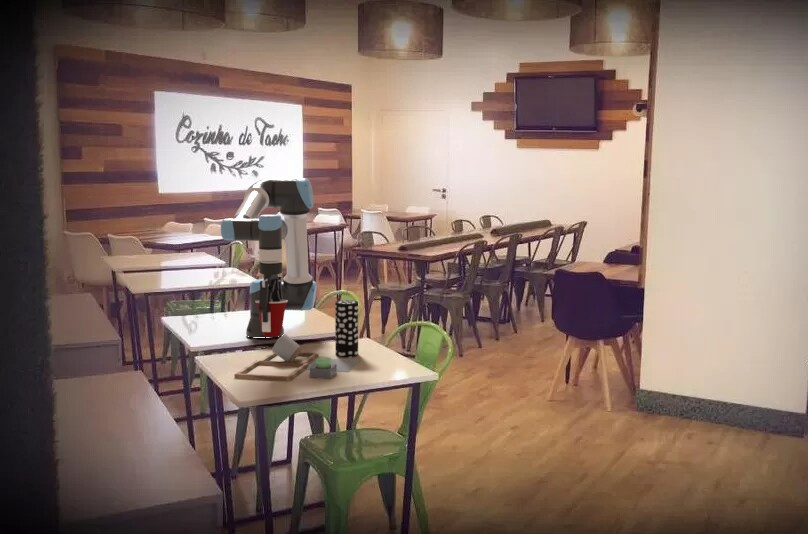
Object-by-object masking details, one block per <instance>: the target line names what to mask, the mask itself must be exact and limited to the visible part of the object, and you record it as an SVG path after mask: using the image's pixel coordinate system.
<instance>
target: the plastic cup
mask: <svg viewBox="0 0 808 534" xmlns="http://www.w3.org/2000/svg"><path fill="white" fill-rule="evenodd" d="M255 302H256V304H257V307H258V311H259V300H256V301H255ZM287 302H288V300H281V299H280V302H273V301H272V299H271V302H269V303H270V309H269V312H270V319H271V332H263V335H264V336H268V337H274V336H279V335H281V330H282V325H283V324H284V317H285V312H286V310H285V307H286V304H287ZM259 317H260V322H261V326H262V312H259Z"/></svg>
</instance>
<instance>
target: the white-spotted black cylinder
mask: <svg viewBox="0 0 808 534" xmlns="http://www.w3.org/2000/svg"><path fill="white" fill-rule="evenodd" d="M334 308H335V309H334V310H335V311H334V312H335V314H334V315H335V316H334V317H335V319H334V320H335V321H334V322H335V324H334V325H335V327H334V328H335V336H334V337H335V341H334V342H335V344H334V345H335V356H336V357H337V358H341V359H342V358H343V359H346V358H347V359H349V358H356V357H358V356H359V301H356V300H352V299H350V300H349V299H345V300H343V299H342V300H337V301H335V303H334Z"/></svg>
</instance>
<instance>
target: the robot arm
mask: <svg viewBox="0 0 808 534" xmlns="http://www.w3.org/2000/svg"><path fill="white" fill-rule="evenodd" d="M243 195H244V196H243V201H242V203H241V204H240V206H239V207H238V209H237V211H236V213H235V214H234V216H233V217H231V218H230V217H229V218H224V219H222V220H221V223H220V235H221V236H220V237H221V238H222V240H224V241H232V242H234V241H235V242H236V241H237V242H245V241H246V242H247V241H248V242H258V251H257V254H258V260H259V261H260V262H259V264H258V268H259V269H258V271H259V274H261V275H263V278H259V279H255V280H253V281H251V282H250V285H249V308H250V310H249V312H250V313H249V314H250V316H249V320H248V324H247V327H246V330H245V331H246V333H245V334H246V335H247V336H249V337H265V338H266V337H268V336H264V335H263V332H271V319H270V312H269V309H270V303H269V302H271V299H272V301H273V302H280V299H281V300H288V302H287V304H286V307H285V311H300V312H303V311H311V310H313V308H314V305H315V301H316V295H317V290H318V289H317V288H318V284H317V283H318V282H316V281H315V280H314V279H313V276H312V275H311V274H310V273H309V256H308V255H309V250H308V228H307V227H308V224H307V223H308V222H307V216H308V215H309V214H310V213H311V209H312V208H314V206H315V205H314V204H315V201H314V200H315V199H314V198H315V197H314V190H313V187H312V183H311V180H309V179H308V178H307V177H306V178H305V177H266V178H263V179H260V180H258V181H256V182H255V183H253V184H251V185H250V186H249V187H248V188H247V190H246V191H245V193H244V194H243ZM266 208H272V209H273V208H274V209H276V208H277V209H279V213H280V214H261V213H262V211H264V210H266ZM282 216H283V218H284V219H282ZM283 240H284V241H285V261H286V262H285V263H286V274H285V276H284V277H283V280H282V276H281V274H283V262H282V261H283ZM256 300H259V311H258V307H257V304H256V302H255V301H256ZM259 312H262V326H261V322H260V317H259ZM283 334H285V327H284V326H283V325H282V330H281V335H279V336H282V335H283ZM246 335H245V336H246ZM247 336H246V337H247ZM249 337H248V338H249ZM274 337H278V336H274ZM278 338H279V337H278Z"/></svg>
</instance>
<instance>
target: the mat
mask: <svg viewBox="0 0 808 534" xmlns="http://www.w3.org/2000/svg"><path fill="white" fill-rule="evenodd" d="M360 362H361V360H358V359H357V360H356V359H344V358H343V359H342V358H341V359H340V358H338V359H337V358H331V364H336V365H337V372H338V373H340V372H341V373H350V372H351V370H353V369H354V367H355V366H357V365H358V364H359V363H360ZM314 364H316V359H314V360H312V361H311V362H310V363H309V364H308V367H307V368H305V369H304V370H303V371H305V370H306V371H310V368H311V367H312V366H313V365H314Z"/></svg>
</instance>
